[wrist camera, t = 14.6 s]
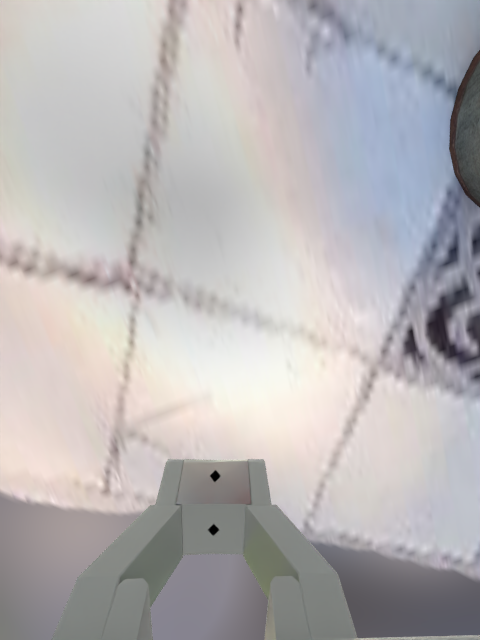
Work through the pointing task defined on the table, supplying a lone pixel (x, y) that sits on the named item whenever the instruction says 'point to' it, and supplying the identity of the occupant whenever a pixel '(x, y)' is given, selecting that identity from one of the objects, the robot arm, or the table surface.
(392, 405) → the table surface
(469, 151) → the barrel
